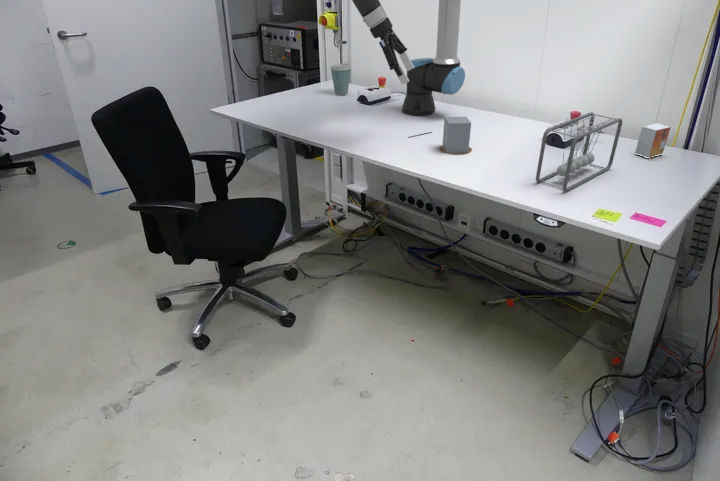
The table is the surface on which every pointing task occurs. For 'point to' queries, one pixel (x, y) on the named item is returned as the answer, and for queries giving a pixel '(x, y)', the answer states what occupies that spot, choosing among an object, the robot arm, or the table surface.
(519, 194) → the table surface
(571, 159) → the newton's cradle
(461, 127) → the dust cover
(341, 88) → the disposable coffee cup
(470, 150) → the walnut coaster
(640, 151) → the small box
